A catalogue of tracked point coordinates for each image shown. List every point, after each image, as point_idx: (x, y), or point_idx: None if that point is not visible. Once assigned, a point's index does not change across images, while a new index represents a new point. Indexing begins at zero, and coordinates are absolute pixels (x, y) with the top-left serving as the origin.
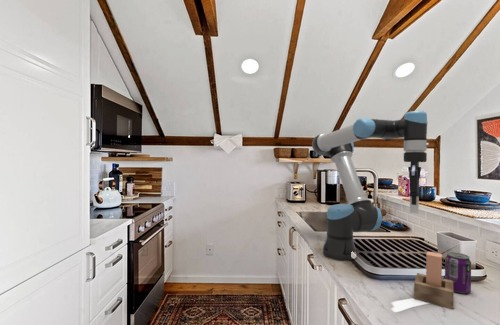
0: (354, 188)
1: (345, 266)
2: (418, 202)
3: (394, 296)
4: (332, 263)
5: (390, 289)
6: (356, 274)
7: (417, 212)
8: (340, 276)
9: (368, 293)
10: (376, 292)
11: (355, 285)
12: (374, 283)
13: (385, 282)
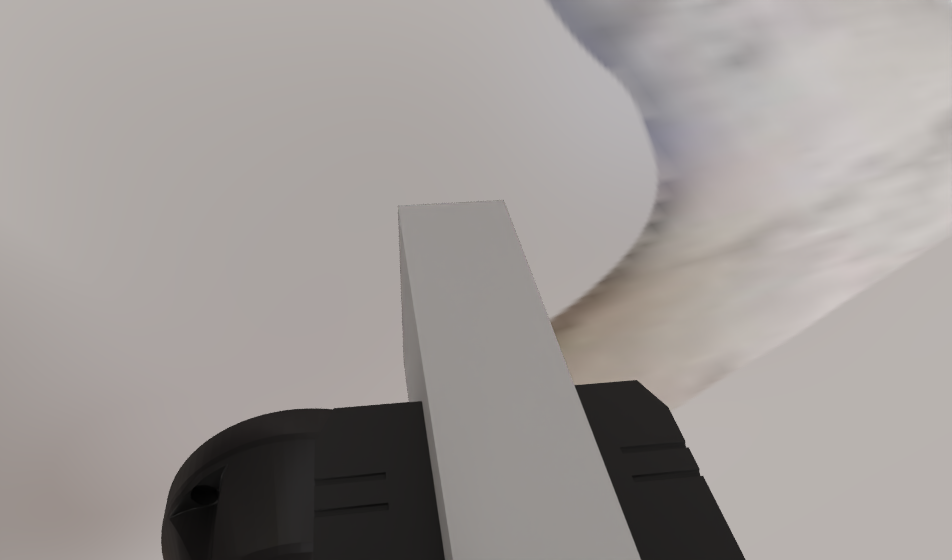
0: None
1: None
2: (455, 394)
3: (891, 14)
4: None
5: (784, 59)
6: (633, 306)
7: (504, 226)
8: (726, 365)
9: (912, 162)
10: (877, 126)
11: (825, 256)
12: (731, 172)
13: (671, 115)
